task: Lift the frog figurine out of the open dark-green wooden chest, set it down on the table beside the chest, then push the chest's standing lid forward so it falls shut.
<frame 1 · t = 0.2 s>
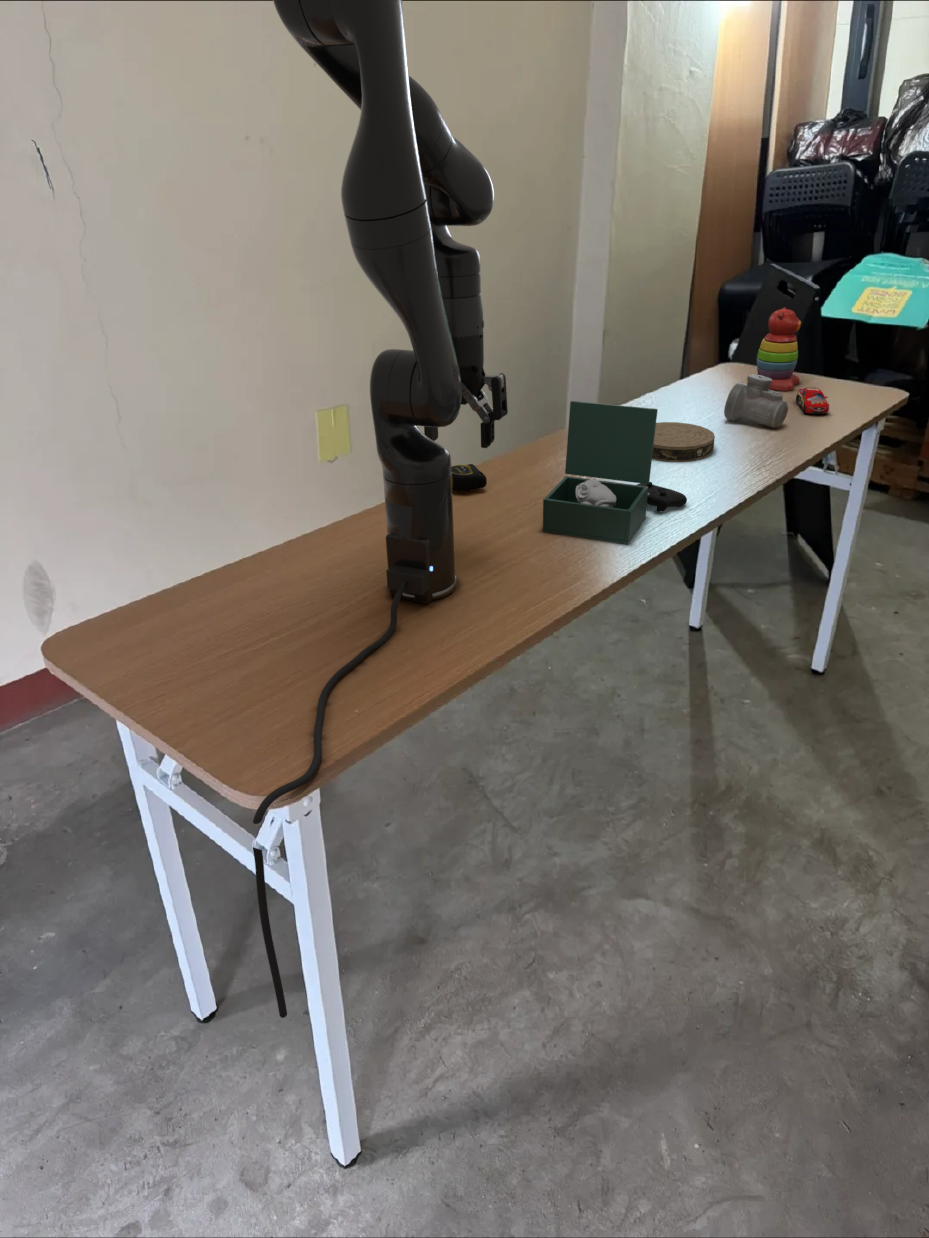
hand: (459, 443, 126), 17 cm above the table, tool pointing down, fingers open, 8 cm apart
chest: (594, 524, 142), on the table
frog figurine: (594, 522, 142), resting in chest
pipe fitting: (754, 424, 186), on the table
game controller: (653, 505, 149), on the table
tape measure: (467, 488, 158), on the table
lid: (609, 442, 141), point 12 cm above the table, hinge at 98.0°
race car: (810, 409, 195), on the table
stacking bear: (774, 385, 213), on the table
wood slice coaster: (672, 449, 174), on the table
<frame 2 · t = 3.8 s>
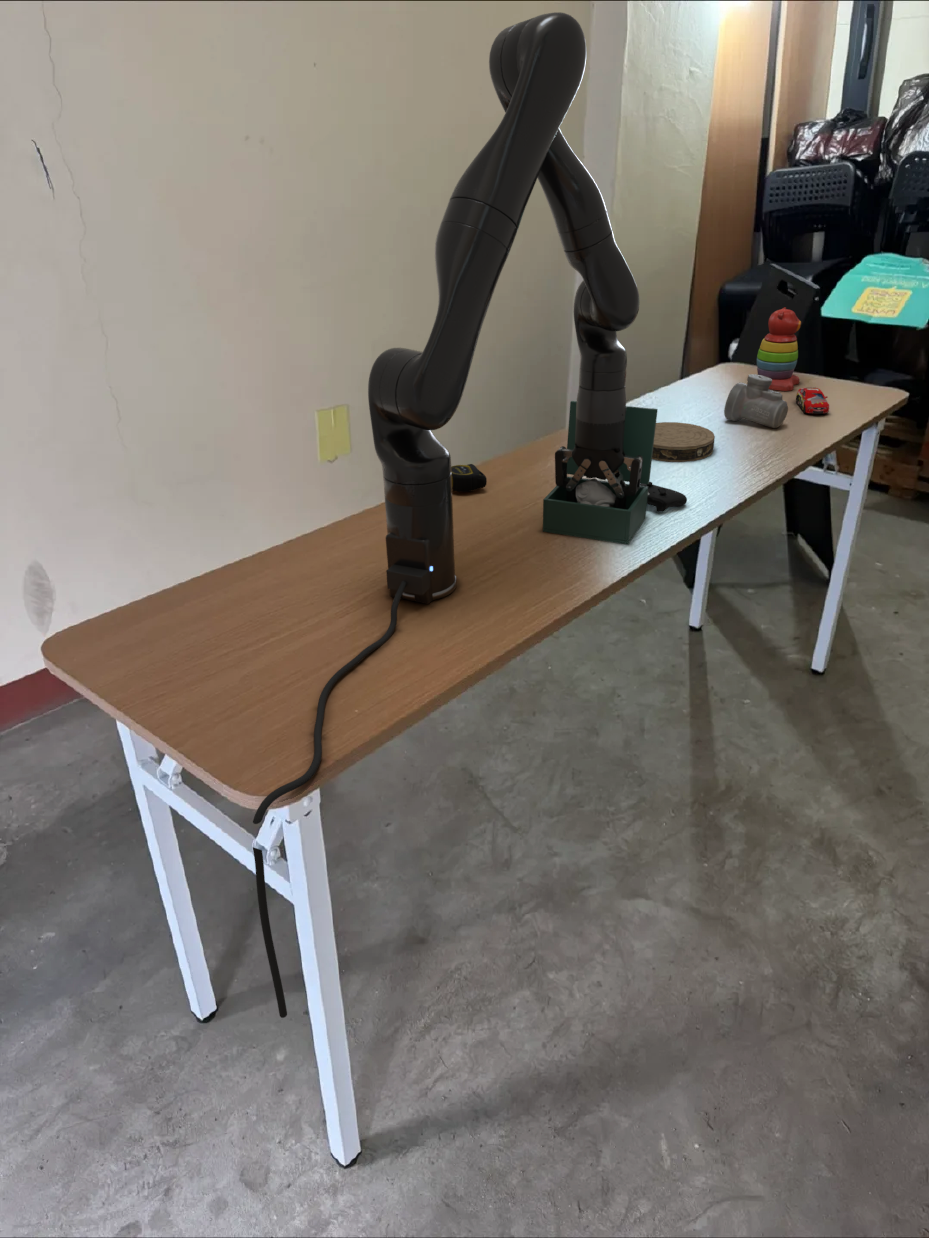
hand: (595, 514, 141), 2 cm above the table, tool pointing down, fingers closed on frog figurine, 7 cm apart
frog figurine: (594, 522, 142), resting in chest, touching gripper
everything else where it was.
when the fingers open (1 cm above the table, at t = 11.6 s): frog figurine stays where it is, on the table.
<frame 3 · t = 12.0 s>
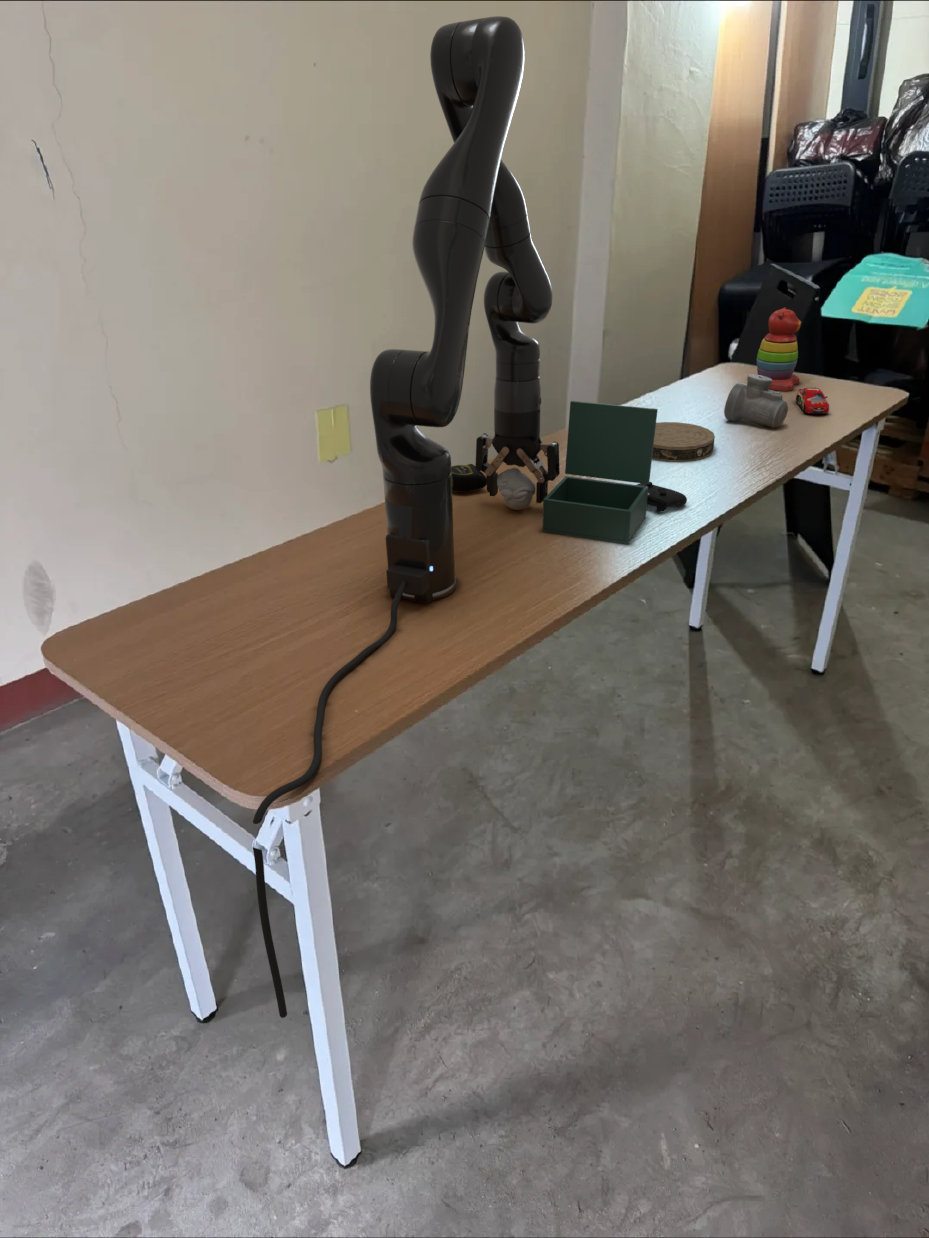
hand: (516, 498, 148), 2 cm above the table, tool pointing down, fingers open, 8 cm apart
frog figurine: (516, 509, 149), on the table
everything else where it was.
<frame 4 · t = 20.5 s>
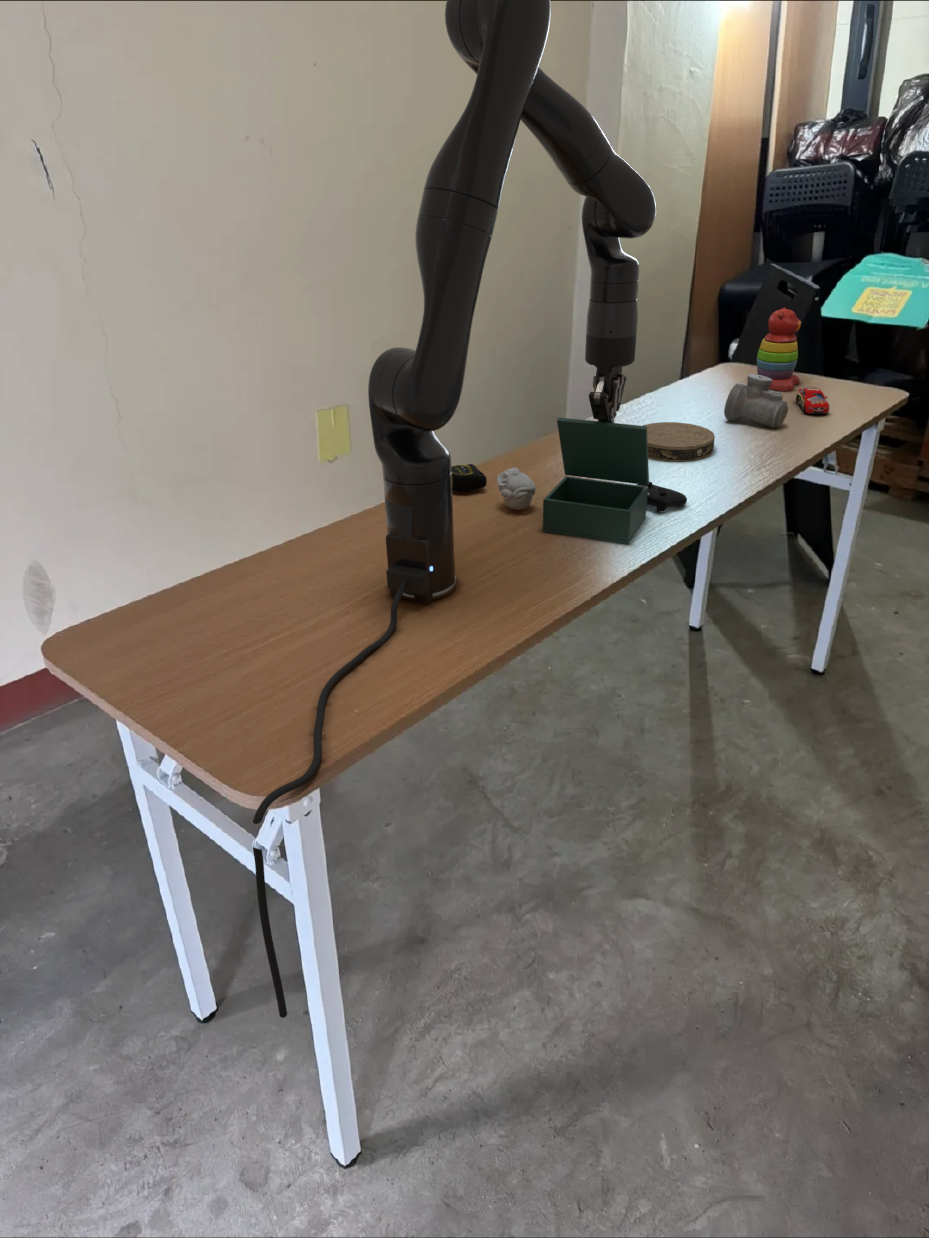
hand: (604, 442, 139), 13 cm above the table, tool pointing down, fingers closed
lid: (603, 451, 139), point 11 cm above the table, hinge at 64.8°, touching gripper
everything else where it was.
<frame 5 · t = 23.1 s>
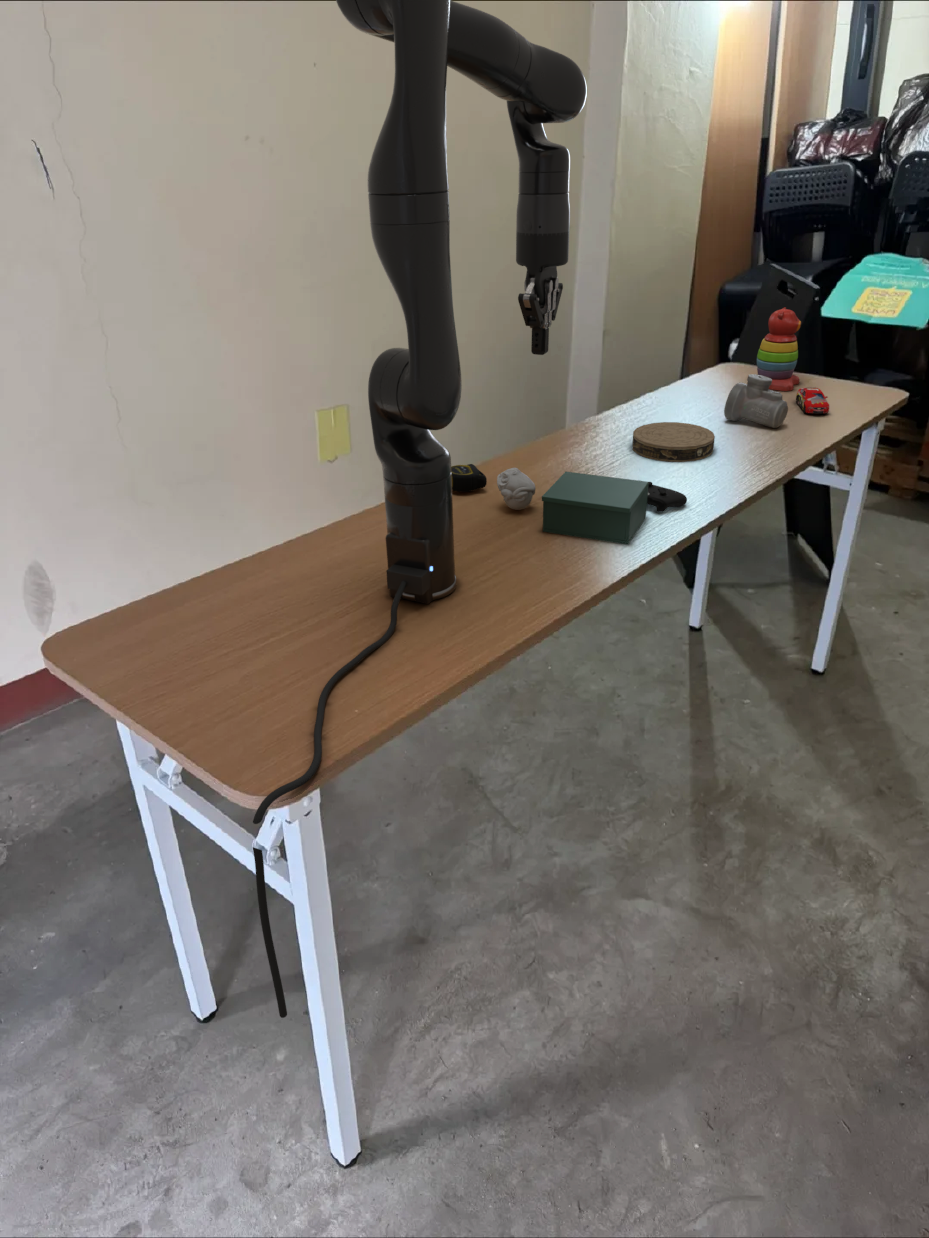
hand: (539, 353, 131), 27 cm above the table, tool pointing down, fingers closed
lid: (595, 491, 139), point 6 cm above the table, hinge at -0.2°
everything else where it was.
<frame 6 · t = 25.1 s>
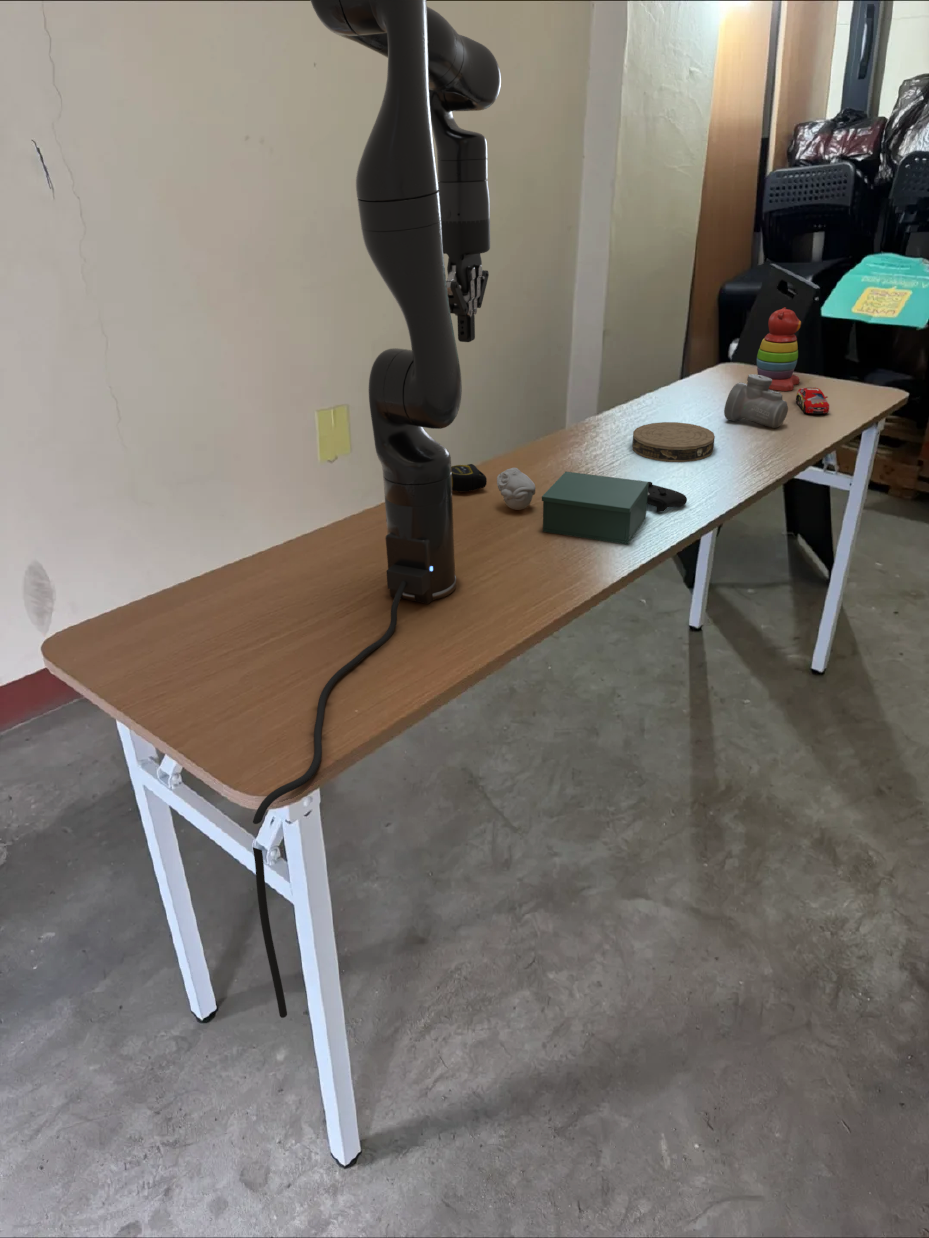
hand: (466, 340, 132), 29 cm above the table, tool pointing down, fingers closed
nothing on the table moved.
at the end: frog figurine inside the target area (0.1 cm from its centre), on the table; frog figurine tilted 0°; lid at +0° (first picture: +98°) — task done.
